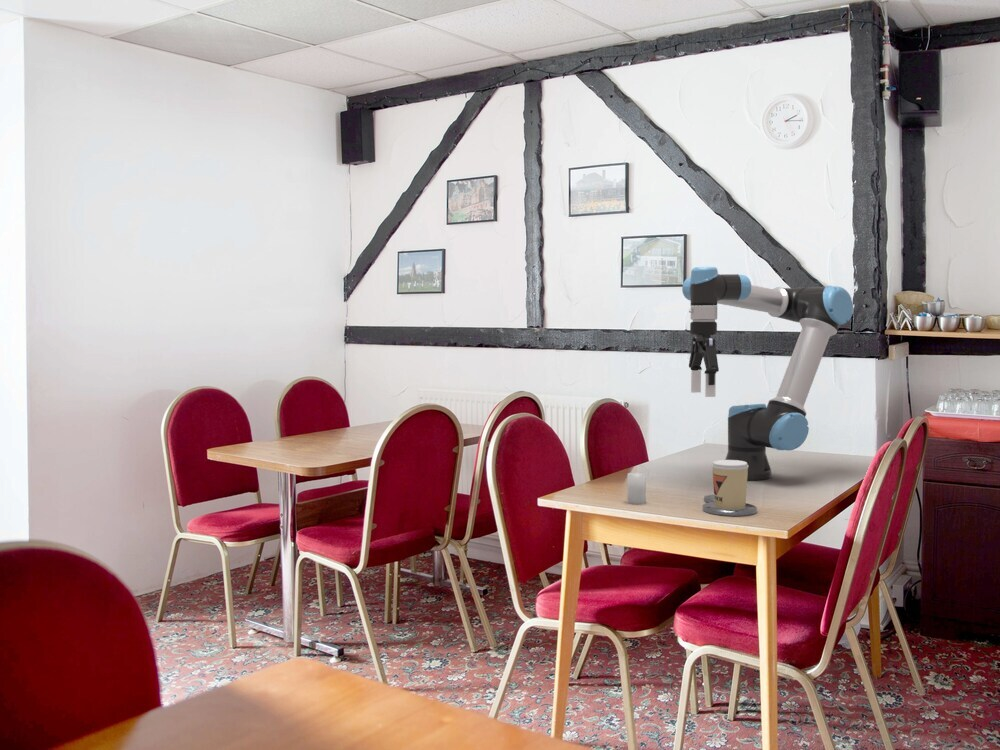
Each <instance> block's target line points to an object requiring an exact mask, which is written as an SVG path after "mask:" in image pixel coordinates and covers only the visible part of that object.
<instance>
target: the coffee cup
mask: <svg viewBox="0 0 1000 750" xmlns="http://www.w3.org/2000/svg"><path fill="white" fill-rule="evenodd" d="M711 468H712V480H713V481H712V482H713V493H714V494H713V495H714V498H715V507H716V508H717V509H721V510H730V511H735V510H743V509H745V503H746V502H747V488H748V487H747V486H748V480H747V475H748V465H747V462H745V461H739V460H725V459H719V460H714V461H713V462H712V464H711Z"/></svg>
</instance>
